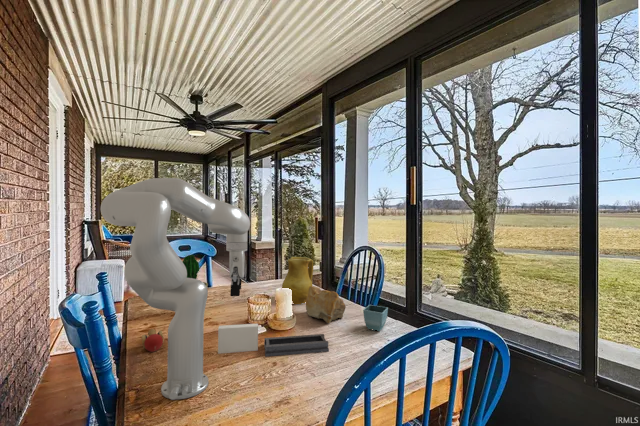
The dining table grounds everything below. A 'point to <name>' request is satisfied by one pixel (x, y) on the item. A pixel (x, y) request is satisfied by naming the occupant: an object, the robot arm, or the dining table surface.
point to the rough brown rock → (324, 304)
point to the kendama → (152, 340)
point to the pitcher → (299, 278)
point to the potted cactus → (192, 267)
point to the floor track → (295, 345)
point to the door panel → (237, 338)
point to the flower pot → (375, 317)
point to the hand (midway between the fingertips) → (236, 292)
